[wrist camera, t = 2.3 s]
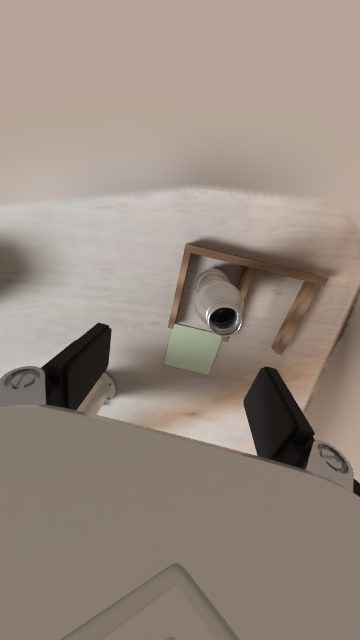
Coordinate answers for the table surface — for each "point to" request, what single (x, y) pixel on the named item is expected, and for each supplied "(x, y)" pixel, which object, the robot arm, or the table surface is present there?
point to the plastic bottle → (218, 303)
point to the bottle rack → (250, 265)
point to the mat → (192, 349)
